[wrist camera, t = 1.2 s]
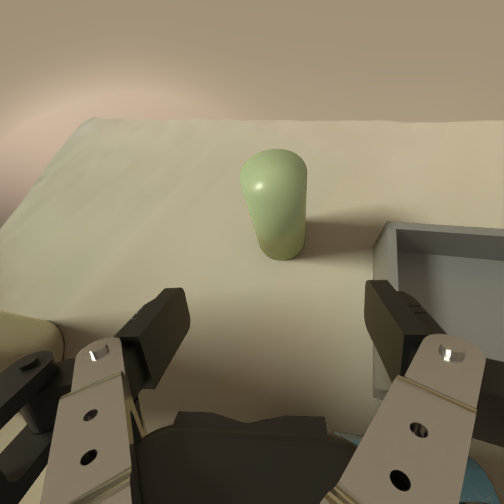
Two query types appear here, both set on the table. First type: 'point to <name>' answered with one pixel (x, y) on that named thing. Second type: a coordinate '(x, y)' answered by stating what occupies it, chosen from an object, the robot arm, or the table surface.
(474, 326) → the bin
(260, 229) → the pale green rounded knob
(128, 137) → the table surface
